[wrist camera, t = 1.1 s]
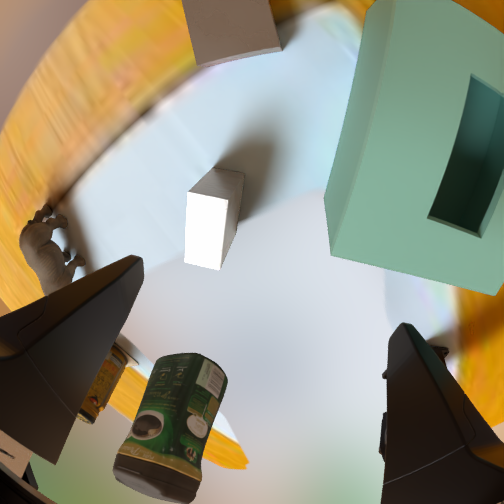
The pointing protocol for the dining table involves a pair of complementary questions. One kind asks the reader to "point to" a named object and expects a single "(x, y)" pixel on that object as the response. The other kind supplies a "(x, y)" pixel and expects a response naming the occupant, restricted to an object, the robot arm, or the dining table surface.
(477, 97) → the teal box
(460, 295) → the dining table surface
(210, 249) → the block
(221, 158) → the dining table surface
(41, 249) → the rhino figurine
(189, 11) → the block
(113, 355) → the condiment
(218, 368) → the coffee jar
